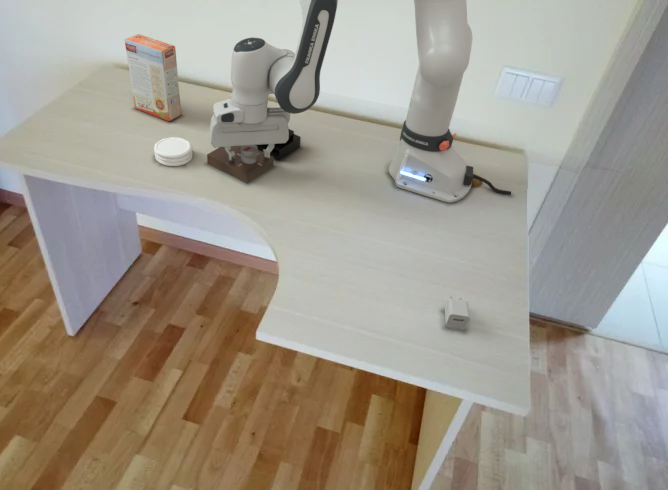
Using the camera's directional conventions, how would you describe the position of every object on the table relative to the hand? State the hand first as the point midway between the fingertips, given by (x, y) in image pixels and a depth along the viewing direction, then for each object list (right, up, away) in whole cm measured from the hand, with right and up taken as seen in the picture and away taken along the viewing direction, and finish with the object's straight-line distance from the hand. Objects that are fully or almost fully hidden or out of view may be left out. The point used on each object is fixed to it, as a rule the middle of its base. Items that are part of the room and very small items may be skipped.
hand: (249, 158), depth 141 cm
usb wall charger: (+44, -40, -32) cm, 68 cm away
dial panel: (-3, -1, +4) cm, 5 cm away
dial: (0, 0, 0) cm, 0 cm away
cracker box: (-30, +19, +22) cm, 42 cm away
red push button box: (+5, +6, +12) cm, 14 cm away
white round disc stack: (-21, +1, +5) cm, 21 cm away
